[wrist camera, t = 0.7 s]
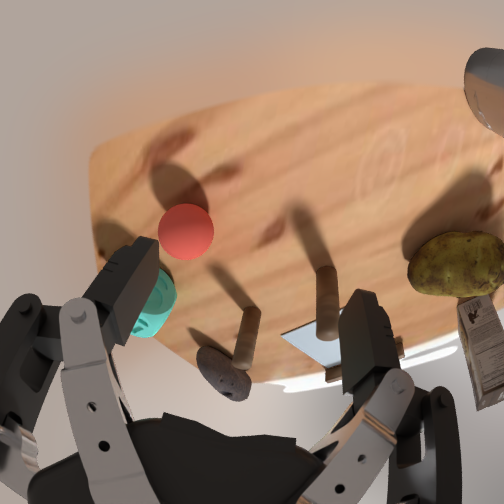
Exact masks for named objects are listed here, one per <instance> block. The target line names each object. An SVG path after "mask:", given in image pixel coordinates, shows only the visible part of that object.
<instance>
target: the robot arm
mask: <svg viewBox="0 0 504 504" xmlns="http://www.w3.org/2000/svg"><path fill="white" fill-rule="evenodd" d="M464 85H465V92H466V97H467V100H468V103H469V105H470V108H471V110H472V112H473V113H474V115H475V117H476V118H477V119H478V120H479V122H480V123H482V124H483V125H484V126H485V127H487V128H488V129H490V130H492V131H493V132H495V133H497V134H498V135H500V136H502V137H503V138H504V50H503V49H495V48H481V49H479V50H477V51H475V52H474V53H473V54H472V55H471V56H470V58H469V60H468V62H467V64H466V68H465V74H464ZM158 276H159V242H158V240H155V239H151V238H147V237H143V236H139V237H138V238H137V239H136V241H135V242H134V243H133V245H132V246H131V247H130V246H126V245H125V246H124V247H122V248H120V249H119V250H117V251H116V252H115V253H114V254H113V255H112V257H111V258H110V259H109V260H108V263H106V264H105V266H104V267H103V270H101V271H100V272H99V274H98V275H97V277H96V278H95V280H94V281H93V282H92V283H91V285H90V287H89V288H88V289H87V291H86V292H85V293H84V295H83V296H82V297H81V298H75V299H71V300H69V301H68V302H66V303H65V304H64V305H63V306H62V307H61V306H47V305H42V303H41V300H40V299H39V297H38V296H37V295H35V294H30V293H29V294H24V295H22V296H20V297H18V298H17V299H16V300H15V301H14V302H13V304H12V305H11V307H10V308H9V310H8V311H7V313H6V314H5V316H4V318H3V319H2V321H1V323H0V481H1V482H2V483H4V484H5V485H6V486H8V487H9V488H10V489H12V490H13V491H14V492H16V493H17V494H19V495H20V496H22V497H23V498H25V499H26V500H28V504H357V503H358V502H359V501H360V499H361V498H362V497H363V495H364V494H365V493H366V491H367V490H368V488H369V487H370V485H371V484H372V482H373V481H374V480H375V478H376V477H377V475H378V474H379V472H380V470H381V469H382V467H383V466H384V464H385V463H386V461H387V459H388V458H389V475H388V494H387V504H462V466H461V450H460V440H459V431H458V423H457V416H456V409H455V404H454V399H453V396H452V394H451V393H450V391H449V390H447V389H446V388H445V387H442V386H438V387H436V388H434V389H433V390H431V391H430V392H428V391H426V390H423V389H421V388H418V387H416V386H414V382H413V380H412V378H411V376H410V375H409V374H408V373H407V372H405V371H404V370H402V369H401V367H400V362H399V357H398V353H397V348H396V344H395V340H394V338H393V336H394V335H393V331H392V329H391V323H390V320H389V316H388V315H387V313H386V312H385V310H384V309H383V307H381V306H379V305H378V301H377V297H376V294H375V293H374V292H371V291H366V290H362V289H356V290H355V291H354V293H353V295H352V296H351V298H350V299H349V301H348V303H347V304H346V306H345V307H344V309H343V311H342V312H341V314H340V317H339V321H338V333H339V343H340V355H341V369H342V385H343V395H347V396H353V402H352V403H351V404H350V405H349V406H348V408H347V409H346V410H345V411H344V413H343V414H342V415H341V417H340V418H339V419H338V420H337V422H336V423H335V424H334V426H333V427H332V428H331V429H330V430H329V432H328V433H327V434H326V435H325V436H324V437H323V438H322V439H321V440H320V441H319V442H317V443H316V444H315V445H314V446H313V447H312V448H311V449H310V450H309V451H307V450H306V449H304V448H302V447H299V446H297V445H296V438H289V437H280V436H271V435H255V436H242V437H241V436H240V437H229V436H226V435H224V434H221V433H219V432H217V431H215V430H213V429H211V428H209V427H207V426H205V425H203V424H201V423H199V422H197V421H193V420H189V419H186V418H182V417H179V416H175V415H172V414H168V413H165V412H164V413H163V416H162V418H147V419H141V420H137V421H135V420H134V417H133V415H132V412H131V409H130V407H129V404H128V402H127V400H126V398H125V395H124V392H123V389H122V386H121V383H120V379H119V376H118V373H117V369H116V366H115V362H114V359H113V355H112V349H113V347H114V345H115V343H116V344H119V345H122V346H125V344H126V342H127V339H128V338H129V336H130V333H131V331H132V329H133V327H134V325H135V323H136V321H137V319H138V317H139V315H140V313H141V311H142V309H143V307H144V306H145V304H146V302H147V300H148V298H149V296H150V294H151V292H152V290H153V288H154V286H155V285H156V282H157V280H158ZM61 361H64V369H62V370H61V382H62V388H63V393H64V398H65V403H66V407H67V412H68V416H69V420H70V424H71V428H72V431H73V435H74V438H75V442H76V445H77V448H78V452H76V453H74V454H73V455H70V456H69V457H67V458H65V459H63V460H61V461H58V462H56V463H55V464H52V465H50V466H48V467H46V468H44V469H42V470H40V468H39V466H38V463H37V458H36V456H37V454H38V448H37V443H36V440H35V438H34V436H33V434H32V433H33V430H34V427H35V424H36V421H37V418H38V415H39V413H40V410H41V407H42V405H43V402H44V400H45V397H46V395H47V392H48V390H49V387H50V385H51V383H52V380H53V378H54V375H55V373H56V371H57V369H58V367H59V365H60V362H61ZM423 431H424V435H425V457H424V459H423V460H422V461H421V441H420V433H421V432H423Z"/></svg>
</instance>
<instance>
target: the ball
mask: <svg viewBox="0 0 504 504" xmlns="http://www.w3.org/2000/svg"><path fill="white" fill-rule="evenodd" d="M213 235H214V227H213V223H212V220H211V218H210V216H209V215H208V214H207V212H206V211H205V210H203V209H202V208H201V207H199V206H197V205H194V204H188V203H184V204H179V205H176V206H174V207H172V208H170V209H169V210H168V211H167V212H166V213H165V214H164V215H163V217H162V218H161V220H160V223H159V227H158V237H159V241H160V244H161V246H162V247H163V249H164V250H165V251H166V252H167V253H168V254H169V255H171V256H172V257H174V258H177V259H181V260H191V259H195V258H197V257H199V256H201V255H202V254H203V253H205V252H206V251H207V249H208V248H209V247H210V245H211V243H212V240H213Z"/></svg>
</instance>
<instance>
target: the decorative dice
mask: <svg viewBox="0 0 504 504" xmlns="http://www.w3.org/2000/svg"><path fill="white" fill-rule="evenodd" d="M176 298H177V293H176V289H175V286H174V284H173V282H172V280H171V279H170V277H169V276H168V275H167V274H166V273H165V272H164V271H163V270H162V269H160V268H159V276H158V280H157V282H156V285H155V286H154V288H153V290H152V292H151V294H150V296H149V298H148V300H147V302H146V304H145V306H144V307H143V309H142V311H141V313H140V315H139V317H138V319H137V321H136V323H135V325H134V327H133V329H132V331H131V333H130V334H131V335H134V336H137V337H142V338H147V337H152V336H153V335H155V334H156V333H157V332H158V330H159V329H160V328H161V327H162V325H163V324H164V322H165V321H166V319H167V317H168V316H169V314H170V312H171V310H172V308H173V306H174V304H175V301H176Z"/></svg>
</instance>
